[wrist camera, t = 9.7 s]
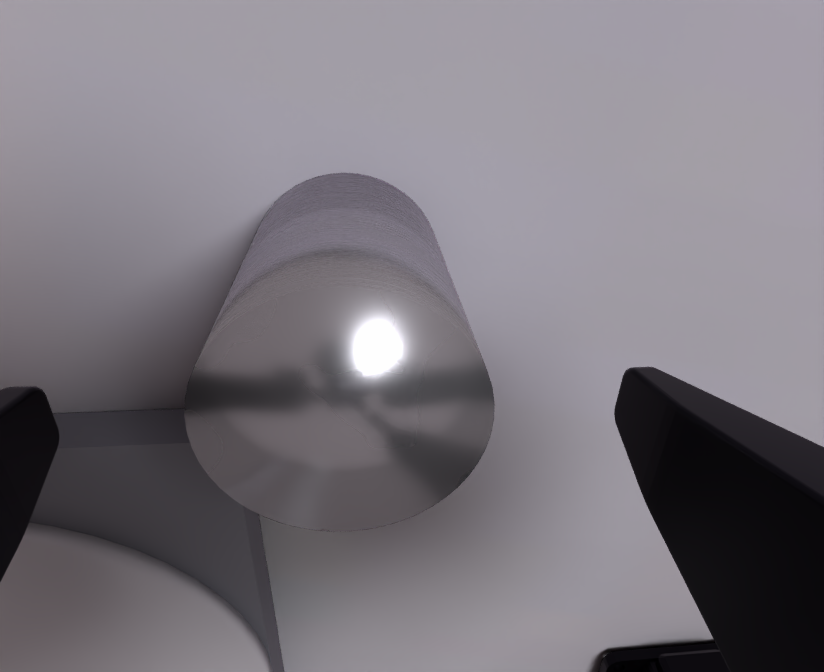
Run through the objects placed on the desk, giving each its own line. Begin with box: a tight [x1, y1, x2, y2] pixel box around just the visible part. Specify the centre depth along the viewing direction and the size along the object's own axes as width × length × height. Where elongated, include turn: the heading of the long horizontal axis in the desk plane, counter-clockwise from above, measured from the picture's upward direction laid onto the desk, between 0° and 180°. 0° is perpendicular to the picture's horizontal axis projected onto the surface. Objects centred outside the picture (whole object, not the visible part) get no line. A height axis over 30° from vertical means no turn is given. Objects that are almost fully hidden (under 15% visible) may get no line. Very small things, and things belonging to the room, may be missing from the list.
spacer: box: [184, 173, 494, 531], centre depth 10 cm, size 4×4×6 cm
